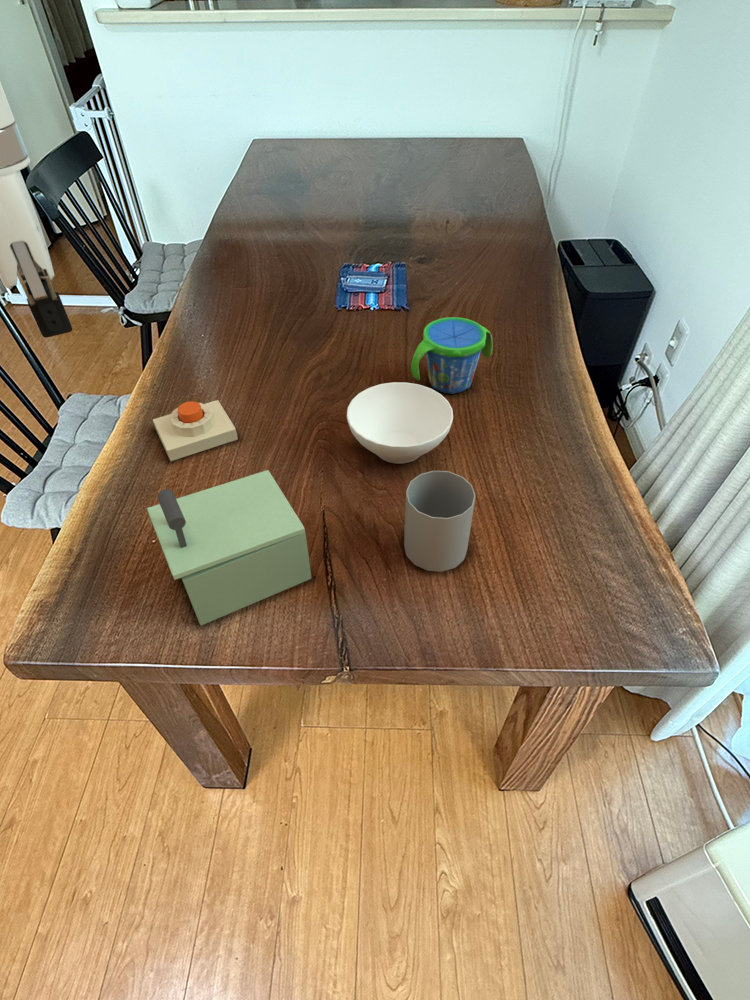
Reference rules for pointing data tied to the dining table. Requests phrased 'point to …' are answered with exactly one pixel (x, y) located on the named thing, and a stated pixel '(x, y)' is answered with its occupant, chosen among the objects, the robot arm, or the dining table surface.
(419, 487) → the cup
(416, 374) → the snack cup
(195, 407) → the button
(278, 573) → the green hinged box
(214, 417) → the panel
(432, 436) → the bowl
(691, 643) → the dining table surface
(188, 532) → the lid
